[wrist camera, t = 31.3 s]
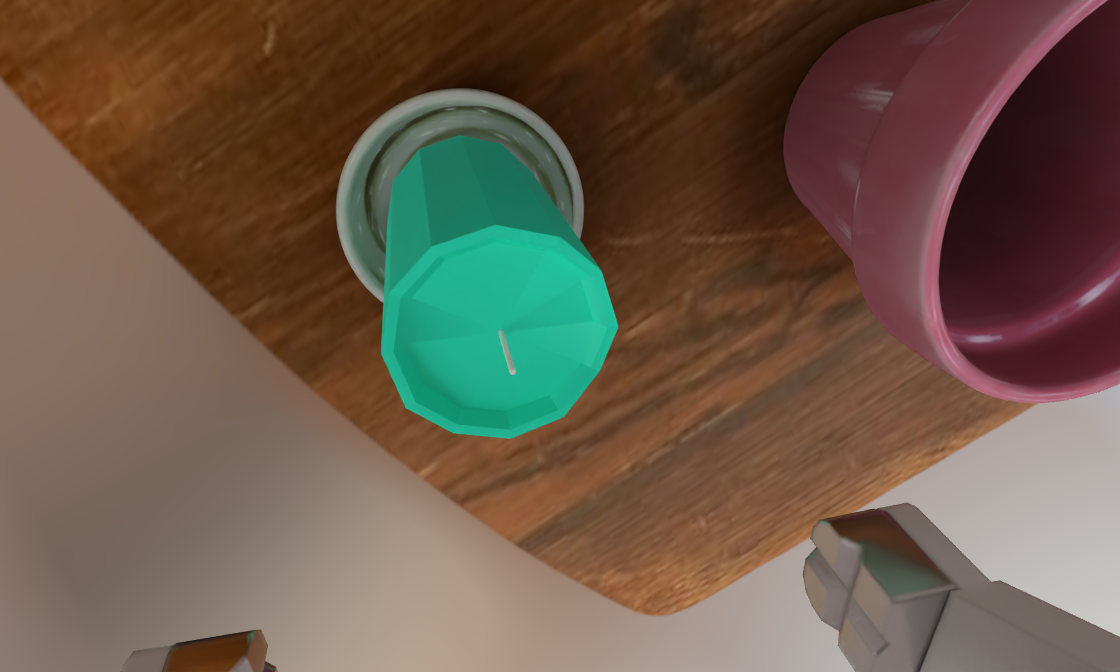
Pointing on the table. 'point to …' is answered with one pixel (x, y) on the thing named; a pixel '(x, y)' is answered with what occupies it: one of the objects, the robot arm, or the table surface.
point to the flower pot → (976, 185)
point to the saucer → (427, 124)
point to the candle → (487, 294)
